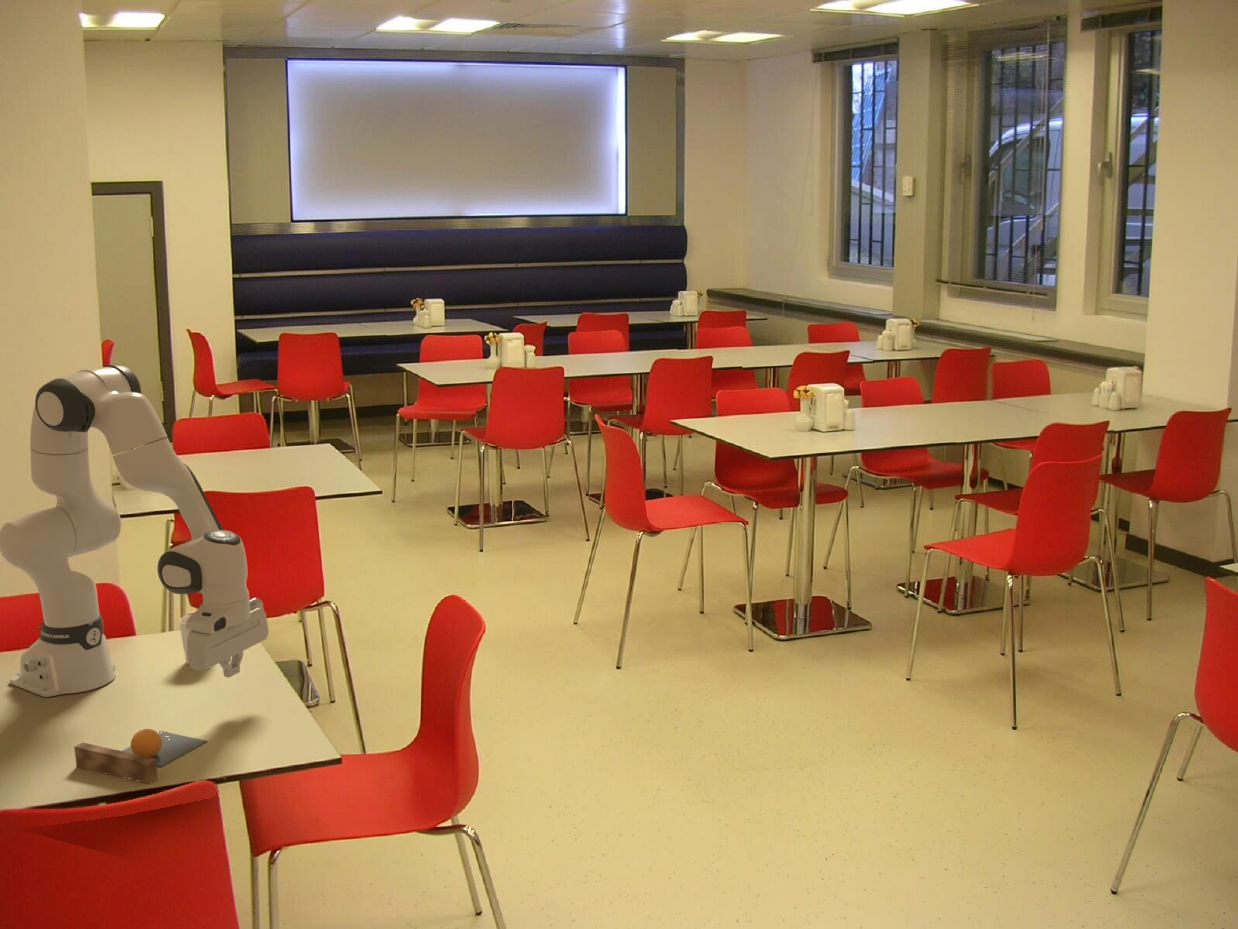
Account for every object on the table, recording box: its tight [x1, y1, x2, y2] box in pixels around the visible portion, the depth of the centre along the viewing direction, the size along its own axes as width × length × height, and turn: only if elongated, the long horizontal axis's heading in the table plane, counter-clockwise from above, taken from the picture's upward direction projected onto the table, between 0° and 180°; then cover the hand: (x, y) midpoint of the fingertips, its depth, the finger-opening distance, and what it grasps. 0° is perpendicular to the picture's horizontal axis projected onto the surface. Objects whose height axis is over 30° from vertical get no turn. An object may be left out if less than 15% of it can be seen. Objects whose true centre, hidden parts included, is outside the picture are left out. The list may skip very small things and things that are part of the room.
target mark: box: [122, 730, 208, 768], centre depth 252 cm, size 12×12×1 cm
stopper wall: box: [73, 742, 158, 785], centre depth 242 cm, size 18×2×4 cm, turn 64°
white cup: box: [178, 613, 194, 665], centre depth 296 cm, size 8×8×10 cm
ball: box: [130, 728, 162, 758], centre depth 248 cm, size 6×6×6 cm
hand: (232, 674), depth 270 cm, fingers closed
